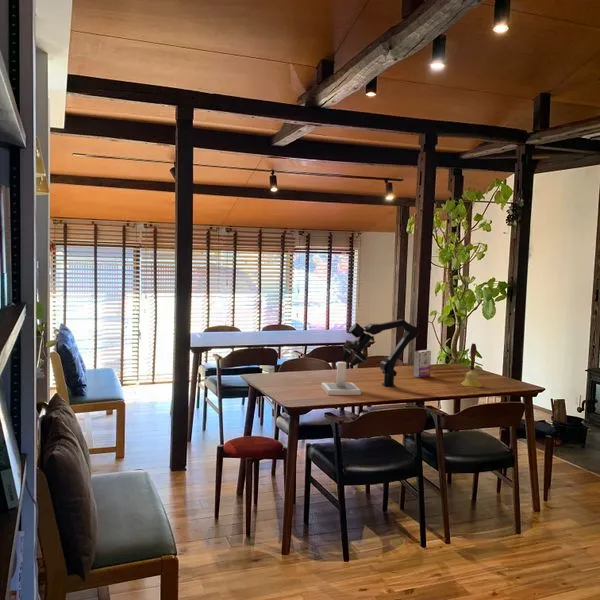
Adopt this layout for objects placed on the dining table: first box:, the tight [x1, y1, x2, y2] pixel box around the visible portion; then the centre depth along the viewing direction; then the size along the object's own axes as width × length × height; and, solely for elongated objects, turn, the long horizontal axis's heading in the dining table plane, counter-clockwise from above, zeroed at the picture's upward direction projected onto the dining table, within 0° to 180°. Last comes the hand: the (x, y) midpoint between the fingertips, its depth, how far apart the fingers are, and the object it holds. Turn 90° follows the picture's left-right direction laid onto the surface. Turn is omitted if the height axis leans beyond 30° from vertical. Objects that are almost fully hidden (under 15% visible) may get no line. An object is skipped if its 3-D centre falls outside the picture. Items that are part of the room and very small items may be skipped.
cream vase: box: [335, 361, 347, 387], centre depth 308 cm, size 5×5×13 cm
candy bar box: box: [413, 349, 432, 379], centre depth 356 cm, size 11×5×16 cm, turn 129°
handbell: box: [460, 343, 483, 388], centre depth 336 cm, size 12×12×25 cm
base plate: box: [320, 382, 362, 396], centre depth 309 cm, size 18×18×3 cm
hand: (345, 364), depth 319 cm, fingers open, 9 cm apart
